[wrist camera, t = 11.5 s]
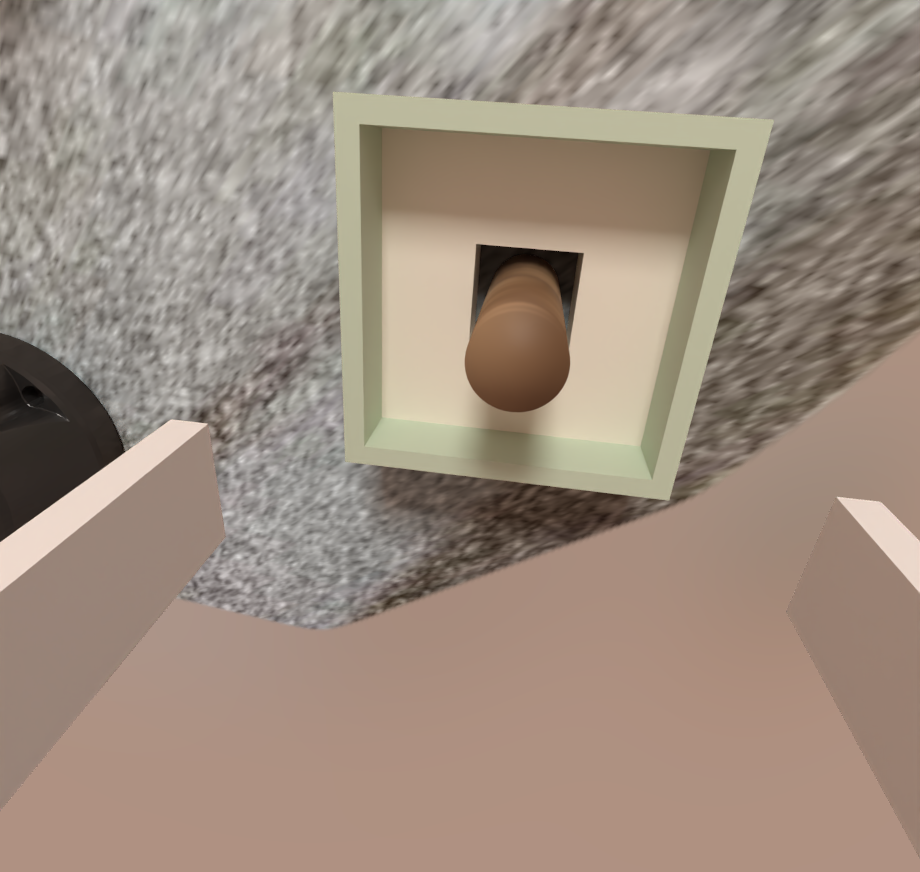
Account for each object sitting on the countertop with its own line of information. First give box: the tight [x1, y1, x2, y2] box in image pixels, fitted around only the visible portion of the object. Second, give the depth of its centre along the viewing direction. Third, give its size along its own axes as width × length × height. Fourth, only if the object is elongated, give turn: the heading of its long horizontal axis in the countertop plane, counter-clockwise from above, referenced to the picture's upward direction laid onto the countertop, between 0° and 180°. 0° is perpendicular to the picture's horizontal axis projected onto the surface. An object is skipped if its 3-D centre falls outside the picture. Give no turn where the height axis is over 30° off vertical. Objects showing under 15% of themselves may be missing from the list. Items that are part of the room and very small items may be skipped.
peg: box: [465, 254, 570, 412], centre depth 25 cm, size 4×4×12 cm
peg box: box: [333, 92, 774, 500], centre depth 27 cm, size 16×16×6 cm
